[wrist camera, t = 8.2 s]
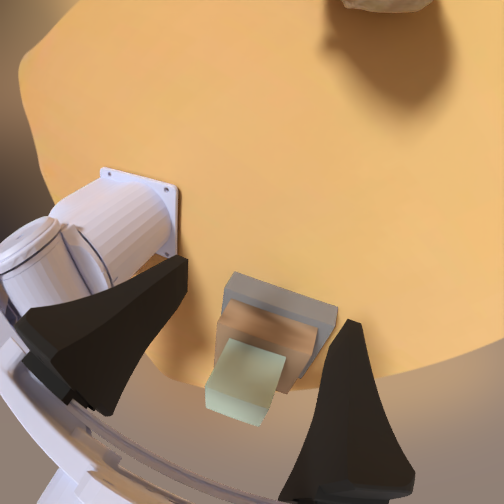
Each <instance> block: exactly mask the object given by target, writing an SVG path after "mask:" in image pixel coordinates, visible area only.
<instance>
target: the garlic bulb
mask: <svg viewBox="0 0 504 504" xmlns="http://www.w3.org/2000/svg"><path fill="white" fill-rule="evenodd" d="M341 1H342V2H343V4H344V7H346V8H348V9H351V8H355V9H362V10H366V11H369V12H378V13H405V12H417V11H419V10H421V9H423V8H424V7H426V6H427V5H429V4H430V3H431V2H432V1H433V0H341Z"/></svg>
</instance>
